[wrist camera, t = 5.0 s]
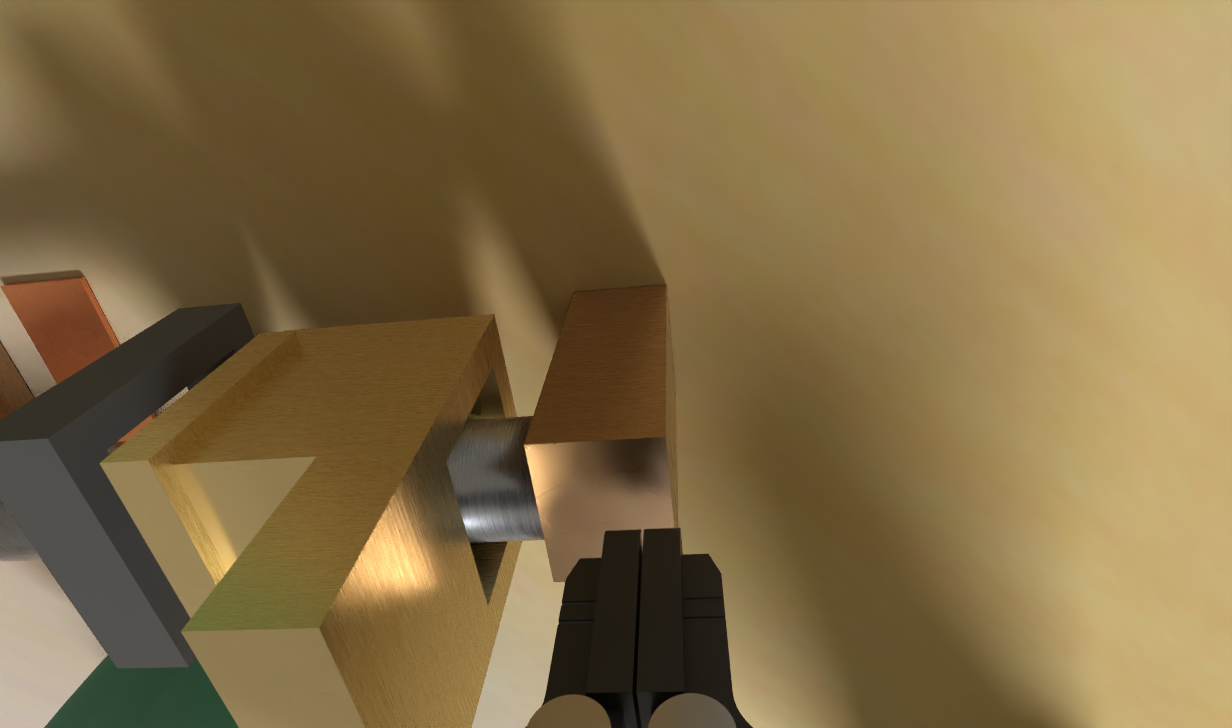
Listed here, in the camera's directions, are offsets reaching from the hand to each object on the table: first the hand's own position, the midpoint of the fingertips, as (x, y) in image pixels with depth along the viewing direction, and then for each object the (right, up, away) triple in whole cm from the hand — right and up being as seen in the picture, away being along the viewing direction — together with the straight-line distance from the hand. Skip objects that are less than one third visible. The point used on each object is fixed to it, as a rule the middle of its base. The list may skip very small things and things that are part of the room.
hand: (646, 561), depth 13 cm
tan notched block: (-6, +2, +6) cm, 9 cm away
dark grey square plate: (-12, +3, +8) cm, 15 cm away
